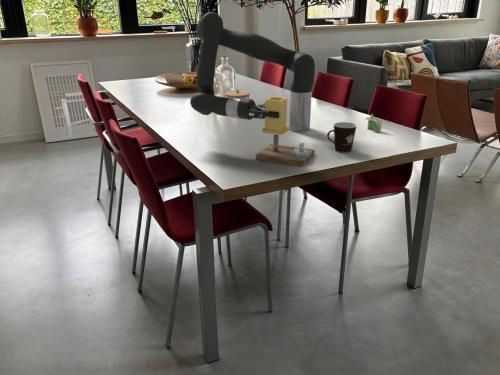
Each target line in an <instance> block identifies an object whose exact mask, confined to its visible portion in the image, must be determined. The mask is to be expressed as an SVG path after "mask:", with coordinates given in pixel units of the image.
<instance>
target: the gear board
mask: <svg viewBox="0 0 500 375" xmlns="http://www.w3.org/2000/svg"><path fill="white" fill-rule="evenodd" d="M272 140H273V144H271V143H270V144H269V145H268V146H267V145H266V147H265V148H263V149H262V150H260V151H259V152H257V153H256V154H255V160H257V161H261V162H262V161H263V162H269V163H275V164H276V163H277V164H282V165H283V164H284V165H289V166H296V167H304V166H305V165H306V164H307V163H308V162H309V161H310V160H311V159H312V158H313V157H314V156H315V152H316V151H315V150H316V149H310V148H306V149H307V150H309V151H312V154H310V155H309V157H299V158H298V157H296V156H294V155H291V151H293V149H299V147H294V146H287V145H279V135H277V134H273V139H272Z"/></svg>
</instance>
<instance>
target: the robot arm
mask: <svg viewBox="0 0 500 375" xmlns="http://www.w3.org/2000/svg"><path fill="white" fill-rule="evenodd" d="M195 29H196V34H197V36H198V37H199V38H200V40H202V46H201V50H200V56H199V60H198V63H197V68H196V75H195V76H196V77H195V87H196V89H197V91H198V93H194V94H193V95H192V96H191V98H190V101H189V102H190V103H189V104H190V107H191V108H192V109H193V110H194V111H196V112H198V113H199V114H201V115H203V116H209V115H210V114H215V115H217V116H223V117H230V118H234V119H241V120H249V121H251V120H253V119H261V120H265V118H269V117H270V118H279V112H275V111H268V110H265V103H260V104H257V103H256V101H255V100H254V99H252V98H249V99H243V98H227V97H226V96H217V95H215V89H214V88H215V87H214V84H215V73H216V65H217V64H216V63H217V57H218V56H217V55H218V49H219V46H221V47H225V48H227V49H230V50H233V51H235V52H238V53H241V54H243V55H246V56H248V57H251V58H253V59H256V60H259V61H263V62H265V63H266V62H267V63H271V64H276V65H279V66H282V67H283V68H284V69H287V70H289V71H291V72H292V73H293V78H292V83H291V84H290V96H289V98H290V100H289V103H290V104H289V126H288V127H289V131H292V132H296V133H299V132H301V133H302V132H308V131H310V128H311V112H312V91H313V86H314V83H315V71H316V64H315V59H314V58H313V56H312V55H310V54H308V53H305V52H302V51H296V50H294V49H293V50H292V49H289V48H285V47H283V46H281V45H280V44H278V43H276V42H275V41H273V40H271V39H269V38H267V37H264V36H263V35H260V34H258V33H254V32H250V31H248V32H247V31H235V30H231V29H228V28H225V27H224V20H223V18H222V17H221V16H220V15H219V14H218V13H217V12H213V11H209V12H206V13H205V14H204V15H203V16H202V17H201V19H200V20H199V22H198V24H197V25H196V28H195ZM256 104H257V105H256Z"/></svg>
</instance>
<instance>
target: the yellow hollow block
mask: <svg viewBox="0 0 500 375" xmlns="http://www.w3.org/2000/svg"><path fill="white" fill-rule="evenodd" d="M265 110H268V111H275V112H279V118H270V117H269V118H265V119H264V127H263V128H262V129H261V133H264V134H270V135H278V136H283V135H284V134H285V133H287V132H288V131H290V129H289V126H288V125H287V116H288V115H287V111H288V97H283V96H282V97H281V96H270V97H268V98H266V99H265Z"/></svg>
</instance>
